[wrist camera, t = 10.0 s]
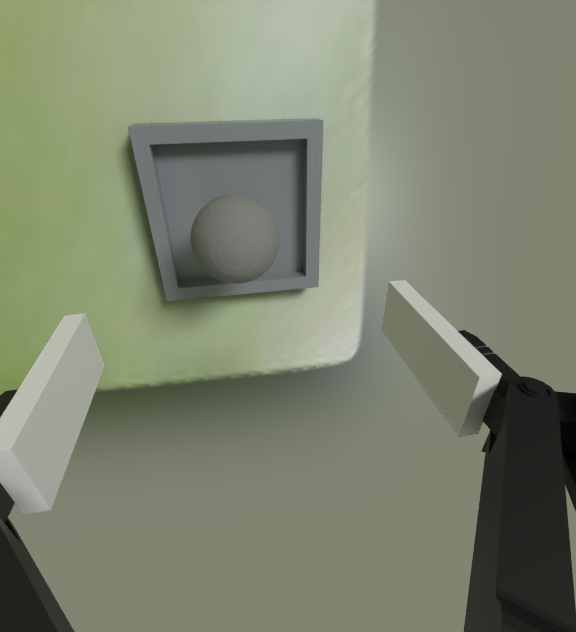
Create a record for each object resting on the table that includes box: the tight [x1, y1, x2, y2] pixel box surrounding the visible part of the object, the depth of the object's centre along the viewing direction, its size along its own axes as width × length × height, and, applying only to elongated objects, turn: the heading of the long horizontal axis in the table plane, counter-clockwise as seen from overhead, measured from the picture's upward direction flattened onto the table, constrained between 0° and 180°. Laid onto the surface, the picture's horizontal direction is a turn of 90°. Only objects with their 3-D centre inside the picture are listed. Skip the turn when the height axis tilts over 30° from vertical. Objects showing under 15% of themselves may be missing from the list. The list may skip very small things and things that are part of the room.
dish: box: [128, 119, 323, 301], centre depth 31 cm, size 14×14×2 cm
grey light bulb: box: [191, 194, 280, 284], centre depth 27 cm, size 6×6×10 cm
